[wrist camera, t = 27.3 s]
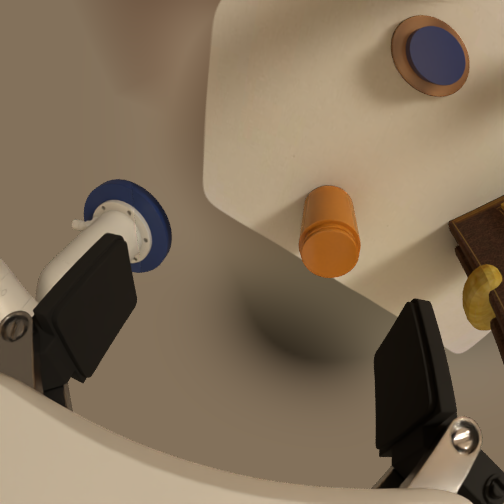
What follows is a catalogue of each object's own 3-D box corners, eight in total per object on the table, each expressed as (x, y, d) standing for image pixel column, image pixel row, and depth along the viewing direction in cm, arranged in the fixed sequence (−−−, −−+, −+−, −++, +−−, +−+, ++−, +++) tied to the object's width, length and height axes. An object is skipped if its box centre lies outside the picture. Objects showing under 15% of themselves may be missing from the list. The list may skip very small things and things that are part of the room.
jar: (302, 228, 40) (295, 278, 31) (304, 183, 36) (298, 224, 28) (350, 232, 38) (356, 283, 30) (356, 187, 35) (366, 229, 26)
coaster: (384, 80, 27) (385, 80, 26) (396, 4, 21) (397, 3, 20) (459, 108, 26) (461, 108, 25) (471, 36, 20) (474, 36, 19)
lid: (469, 66, 22) (476, 67, 21) (432, 95, 26) (437, 97, 24) (432, 17, 20) (438, 15, 19) (393, 46, 24) (397, 45, 22)
